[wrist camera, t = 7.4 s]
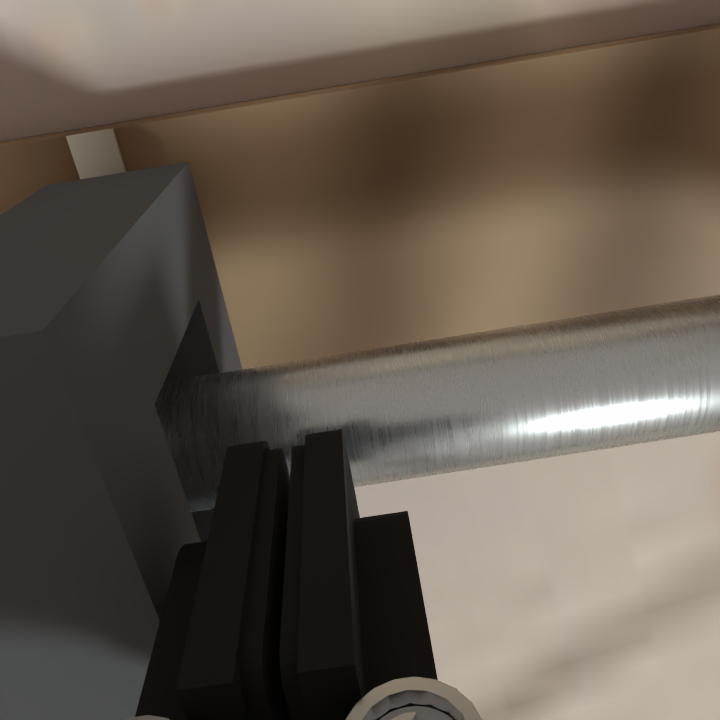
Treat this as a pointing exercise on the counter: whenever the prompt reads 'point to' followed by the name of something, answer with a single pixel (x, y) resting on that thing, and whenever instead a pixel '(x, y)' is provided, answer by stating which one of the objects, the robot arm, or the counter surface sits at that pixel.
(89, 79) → the counter surface
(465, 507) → the counter surface
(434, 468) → the steel pipe
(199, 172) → the pipe stand
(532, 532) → the counter surface
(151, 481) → the rubber collar
